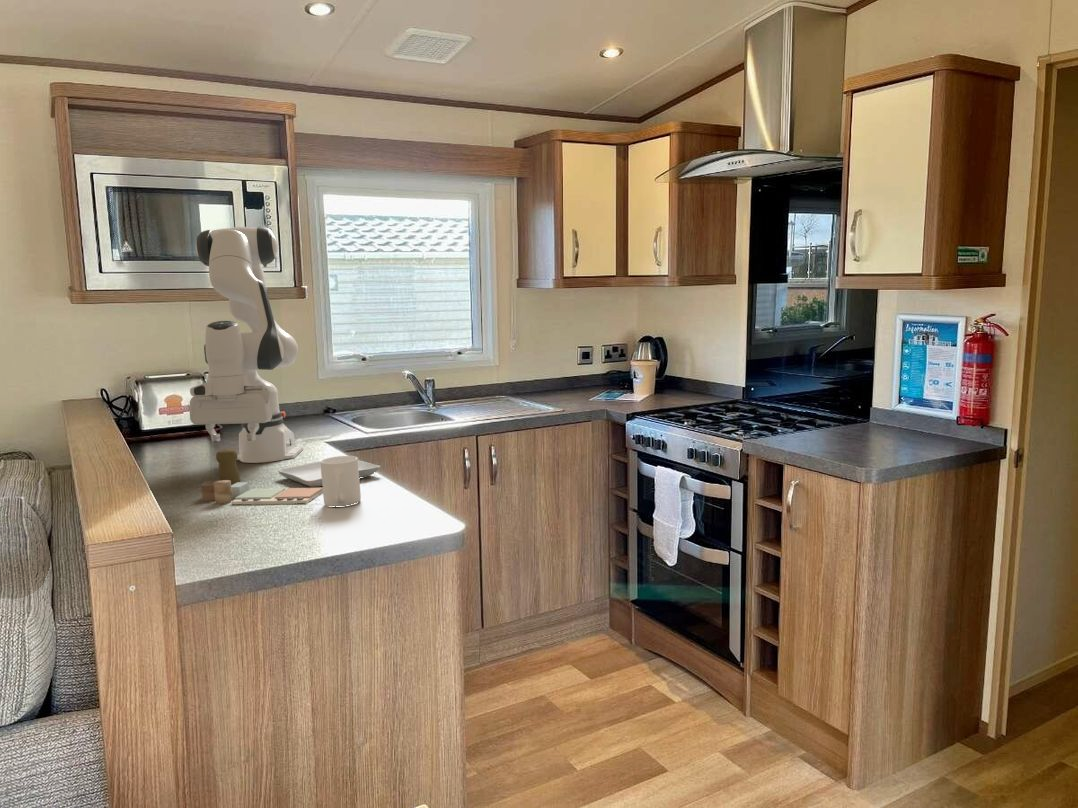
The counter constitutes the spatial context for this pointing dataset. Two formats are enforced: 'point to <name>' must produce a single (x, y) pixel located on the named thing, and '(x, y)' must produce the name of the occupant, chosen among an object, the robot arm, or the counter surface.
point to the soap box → (239, 488)
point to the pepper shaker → (228, 465)
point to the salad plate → (312, 472)
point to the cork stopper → (223, 491)
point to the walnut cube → (208, 490)
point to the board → (278, 496)
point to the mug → (340, 480)
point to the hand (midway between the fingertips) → (233, 441)
